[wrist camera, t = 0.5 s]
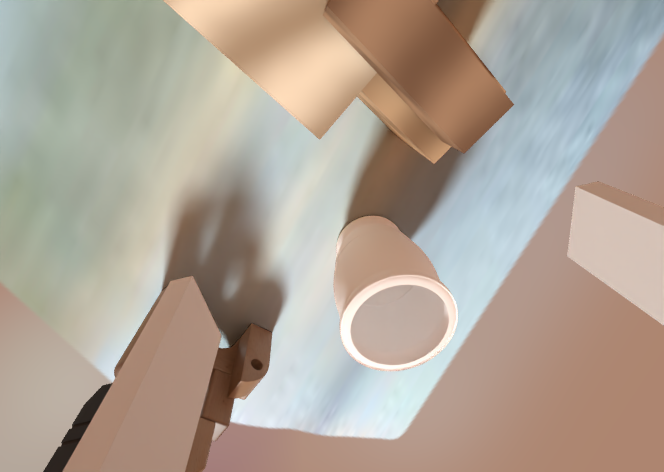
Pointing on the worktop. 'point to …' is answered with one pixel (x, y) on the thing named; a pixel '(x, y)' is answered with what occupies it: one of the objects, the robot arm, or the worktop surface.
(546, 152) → the worktop surface
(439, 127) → the wooden block
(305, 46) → the lid
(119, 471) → the robot arm
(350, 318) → the jar
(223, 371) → the wooden toy
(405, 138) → the toolbox
